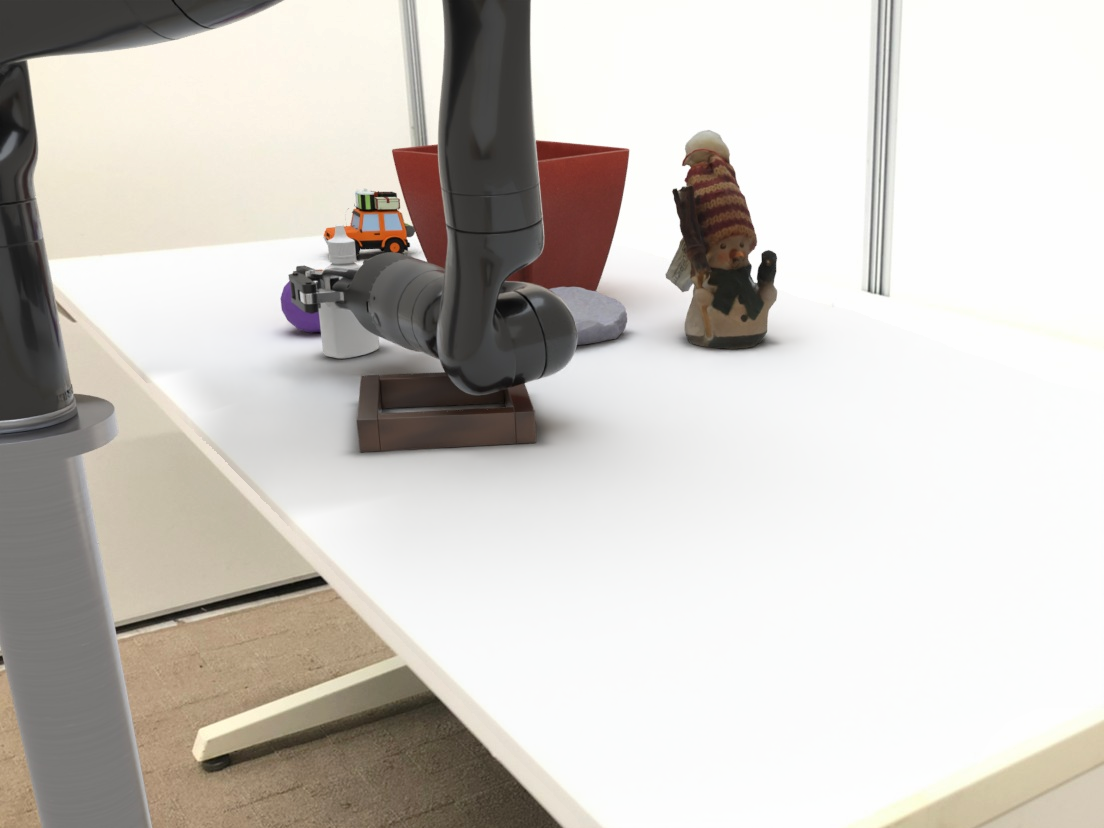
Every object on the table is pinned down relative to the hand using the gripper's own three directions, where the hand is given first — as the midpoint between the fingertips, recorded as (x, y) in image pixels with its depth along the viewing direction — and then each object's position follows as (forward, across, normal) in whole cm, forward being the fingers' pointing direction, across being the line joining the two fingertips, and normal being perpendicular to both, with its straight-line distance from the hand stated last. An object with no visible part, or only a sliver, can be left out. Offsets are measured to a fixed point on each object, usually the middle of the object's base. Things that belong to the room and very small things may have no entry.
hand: (334, 273), depth 121 cm
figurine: (-17, -33, +7) cm, 38 cm away
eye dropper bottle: (-2, 0, +7) cm, 8 cm away
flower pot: (+11, -26, +7) cm, 29 cm away
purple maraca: (+15, -4, +7) cm, 17 cm away
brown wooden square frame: (-28, +3, +7) cm, 30 cm away
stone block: (-9, -20, +7) cm, 23 cm away
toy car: (+48, -25, +7) cm, 54 cm away
